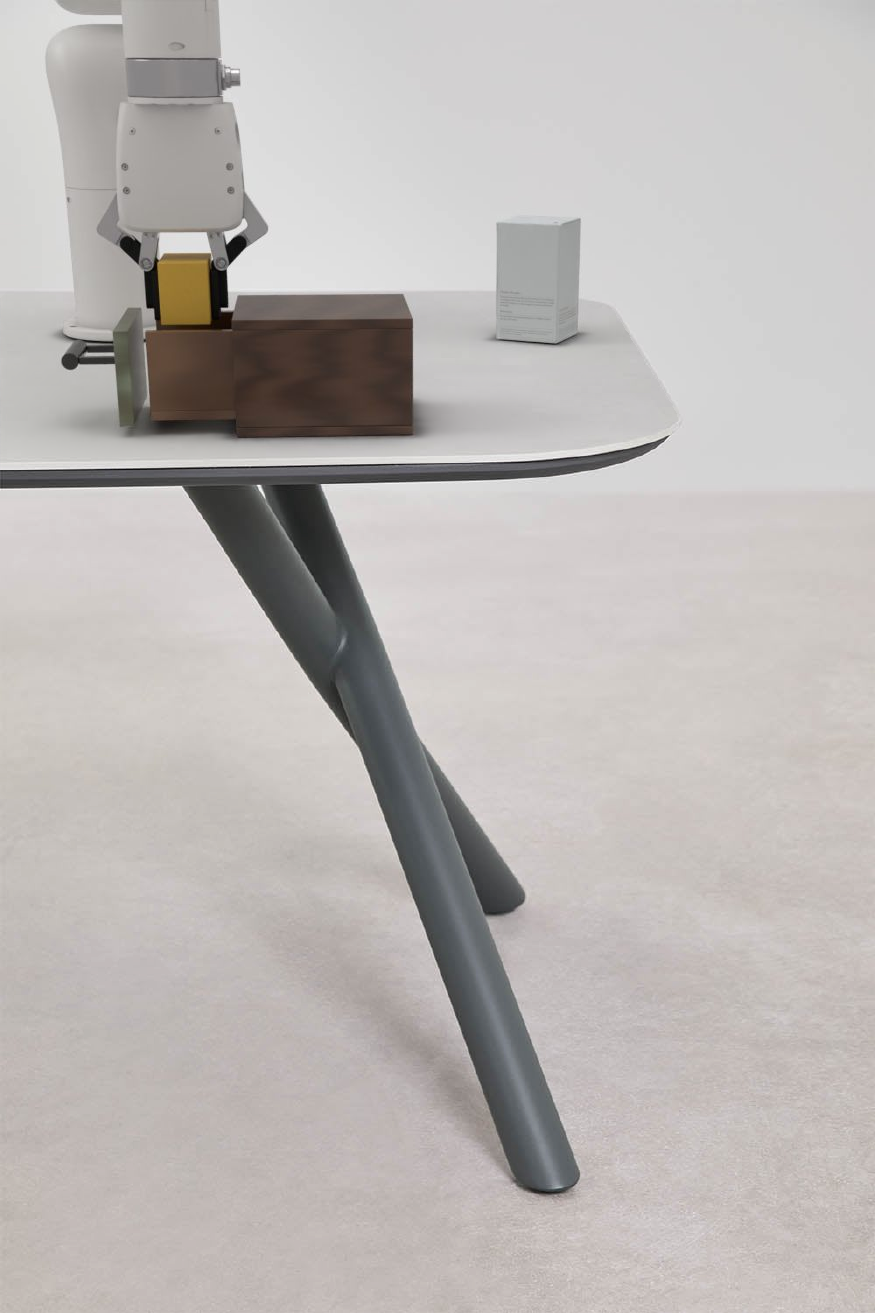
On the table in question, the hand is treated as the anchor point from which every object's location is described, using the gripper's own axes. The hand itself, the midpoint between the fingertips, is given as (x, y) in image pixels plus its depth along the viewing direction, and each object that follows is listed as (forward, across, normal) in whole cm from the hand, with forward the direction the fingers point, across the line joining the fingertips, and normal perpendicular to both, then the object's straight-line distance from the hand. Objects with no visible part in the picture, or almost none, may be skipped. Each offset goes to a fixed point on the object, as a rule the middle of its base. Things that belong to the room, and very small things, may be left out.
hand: (188, 314), depth 126 cm
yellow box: (0, 0, 0) cm, 0 cm away
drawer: (+8, +1, 0) cm, 8 cm away
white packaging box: (+9, -35, -37) cm, 52 cm away
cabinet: (+9, -11, 0) cm, 14 cm away
